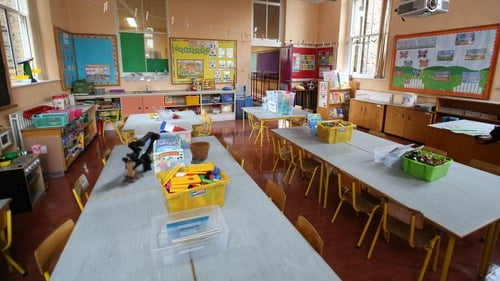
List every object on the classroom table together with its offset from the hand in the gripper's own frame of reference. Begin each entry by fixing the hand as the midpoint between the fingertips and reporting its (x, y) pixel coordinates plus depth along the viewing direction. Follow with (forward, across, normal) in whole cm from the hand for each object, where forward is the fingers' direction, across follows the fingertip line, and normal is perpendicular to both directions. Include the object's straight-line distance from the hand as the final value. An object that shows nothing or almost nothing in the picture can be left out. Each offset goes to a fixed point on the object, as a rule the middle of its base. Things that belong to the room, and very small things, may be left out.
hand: (129, 169), depth 235 cm
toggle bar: (+5, 0, +7) cm, 8 cm away
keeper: (+4, 0, +9) cm, 10 cm away
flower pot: (-40, +35, +54) cm, 76 cm away
